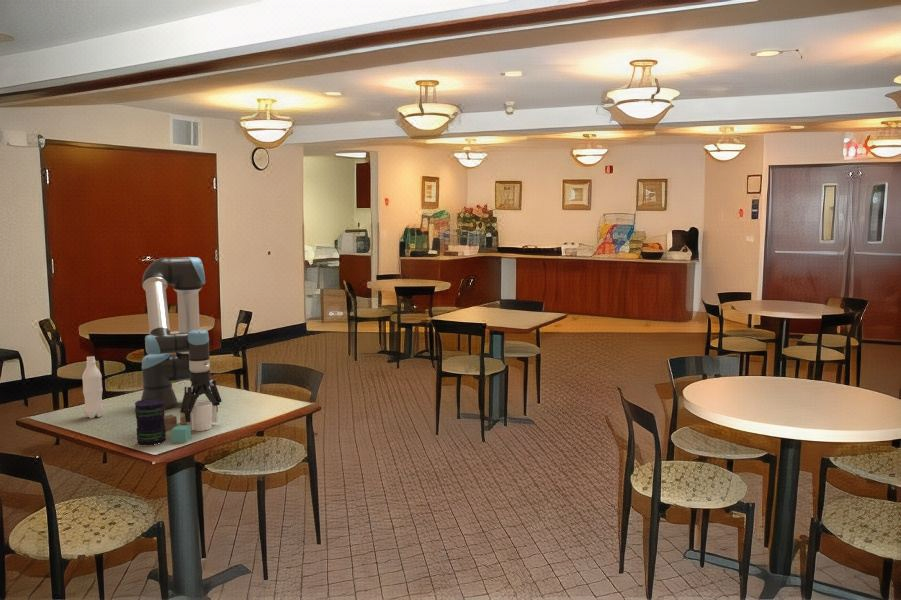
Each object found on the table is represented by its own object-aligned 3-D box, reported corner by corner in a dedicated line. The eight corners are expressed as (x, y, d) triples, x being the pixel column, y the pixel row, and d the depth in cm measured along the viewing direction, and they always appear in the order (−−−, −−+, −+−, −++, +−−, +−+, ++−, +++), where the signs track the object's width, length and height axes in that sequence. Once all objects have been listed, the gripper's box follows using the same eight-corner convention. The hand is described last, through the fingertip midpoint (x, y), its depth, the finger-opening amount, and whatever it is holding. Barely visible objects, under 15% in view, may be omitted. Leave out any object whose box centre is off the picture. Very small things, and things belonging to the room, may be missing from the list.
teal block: (172, 442, 256) (171, 429, 255) (177, 438, 261) (177, 425, 260) (185, 442, 256) (185, 429, 255) (191, 438, 261) (190, 425, 260)
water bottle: (92, 413, 294) (89, 355, 291) (108, 414, 292) (104, 355, 290) (80, 418, 287) (76, 358, 284) (96, 419, 285) (92, 359, 283)
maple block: (180, 424, 279) (179, 411, 279) (188, 420, 284) (187, 408, 283) (191, 425, 278) (190, 412, 277) (199, 421, 283) (198, 409, 282)
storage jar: (172, 439, 260) (170, 399, 258) (151, 447, 251) (149, 406, 249) (152, 436, 263) (149, 397, 262) (130, 443, 254) (128, 403, 253)
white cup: (206, 432, 268) (205, 406, 267) (187, 431, 269) (186, 405, 268) (217, 426, 276) (216, 401, 274) (198, 425, 277) (197, 400, 276)
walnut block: (158, 429, 272) (157, 416, 272) (170, 426, 276) (170, 414, 275) (164, 431, 269) (164, 419, 268) (177, 428, 273) (176, 416, 272)
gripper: (182, 377, 258) (185, 435, 260) (229, 365, 279) (231, 418, 281) (168, 375, 261) (171, 432, 263) (215, 363, 282) (217, 416, 285)
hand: (202, 425), depth 272 cm, fingers open, 11 cm apart
